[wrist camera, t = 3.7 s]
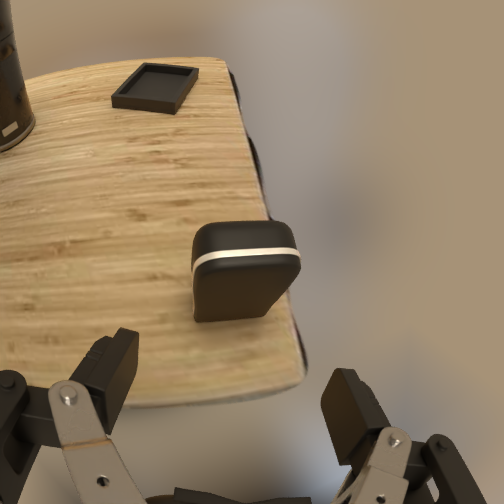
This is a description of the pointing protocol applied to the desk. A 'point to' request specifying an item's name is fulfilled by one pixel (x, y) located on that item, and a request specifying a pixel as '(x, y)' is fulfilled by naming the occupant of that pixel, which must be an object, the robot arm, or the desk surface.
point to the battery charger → (241, 268)
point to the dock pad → (156, 88)
